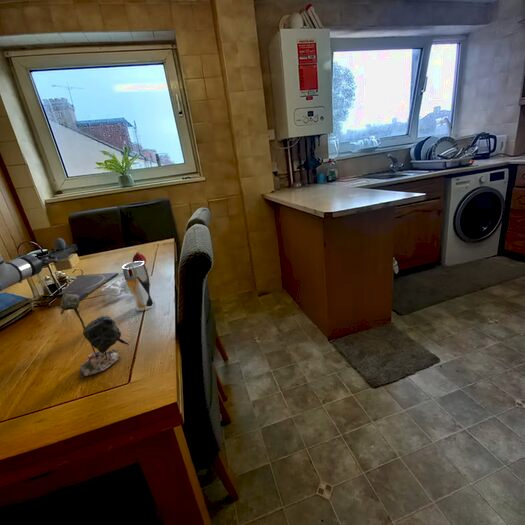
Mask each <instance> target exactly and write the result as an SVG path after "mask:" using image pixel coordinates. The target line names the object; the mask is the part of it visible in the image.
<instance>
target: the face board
mask: <svg viewBox="0 0 525 525" xmlns="http://www.w3.org/2000/svg"><path fill="white" fill-rule="evenodd" d="M118 275H119V272H106V273H105V272H104V273H93V274H78V275H76V276H75V277H76V278H77V279H75V280H74V281H73V282H72V283H71V284H70V285H69V286H68V287H67V288H66V289H64V290H63V291H62V292H61V293H59V294H58V296H57V297H62V296H63V295H64V294H70V293H83V292H87V295H90V294H92V293H93V292H95V291H96V290H97V289H99V288H100V287H102V286H103V285H105V284H106V283H108V282H109V281H111V280H112V279H113V278H115V277H117V276H118Z"/></svg>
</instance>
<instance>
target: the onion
mask: <svg viewBox="0 0 525 525" xmlns="http://www.w3.org/2000/svg"><path fill="white" fill-rule="evenodd" d="M136 261H143V262H144V263H145V265H146V264H147V258H146V257H145V255H144V254H142V253H140V251H136V253H135V254H134V256H133V257H132V262H136Z"/></svg>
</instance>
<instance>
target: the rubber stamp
mask: <svg viewBox="0 0 525 525" xmlns="http://www.w3.org/2000/svg"><path fill="white" fill-rule="evenodd" d="M54 246H55V248H56V249H59V250H60V251H61V250H63V249H64V248H65V246H66V240H64V238H61V237H57V238H56V239H55V240H54ZM70 254H71V255H70V256H69V257H66V258H64V259H62V260H60V261H59V262H57V263H53V266H54V268H55V271H56V272H62V271H68V270H72V269H73V268H74V267H75V266H77V264H79V262H80V259H79V256H78V254H77V253H70Z"/></svg>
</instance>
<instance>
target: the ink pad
mask: <svg viewBox="0 0 525 525" xmlns="http://www.w3.org/2000/svg"><path fill="white" fill-rule="evenodd" d="M70 294H74V295H79V298H80V299H79V302H81V301H83V300H84V299H86V298H87V297H88V295H87V292H83V293H70ZM61 301H62V298H60V302H61Z"/></svg>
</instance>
